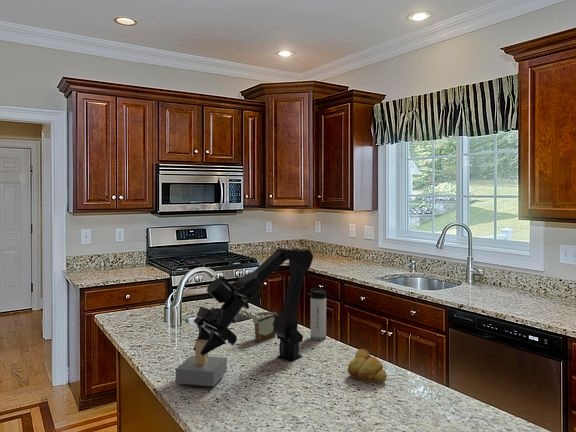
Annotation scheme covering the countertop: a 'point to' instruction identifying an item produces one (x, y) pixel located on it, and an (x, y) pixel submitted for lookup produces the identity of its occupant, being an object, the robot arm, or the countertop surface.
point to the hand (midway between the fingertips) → (198, 352)
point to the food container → (264, 326)
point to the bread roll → (366, 367)
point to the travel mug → (318, 314)
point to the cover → (201, 368)
